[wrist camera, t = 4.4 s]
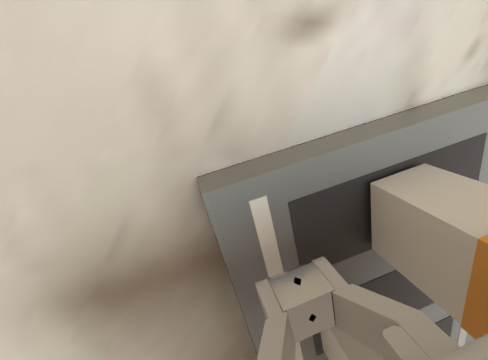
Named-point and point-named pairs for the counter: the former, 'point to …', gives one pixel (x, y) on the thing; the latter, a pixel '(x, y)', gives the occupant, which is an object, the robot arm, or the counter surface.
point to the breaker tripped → (436, 238)
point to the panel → (339, 209)
